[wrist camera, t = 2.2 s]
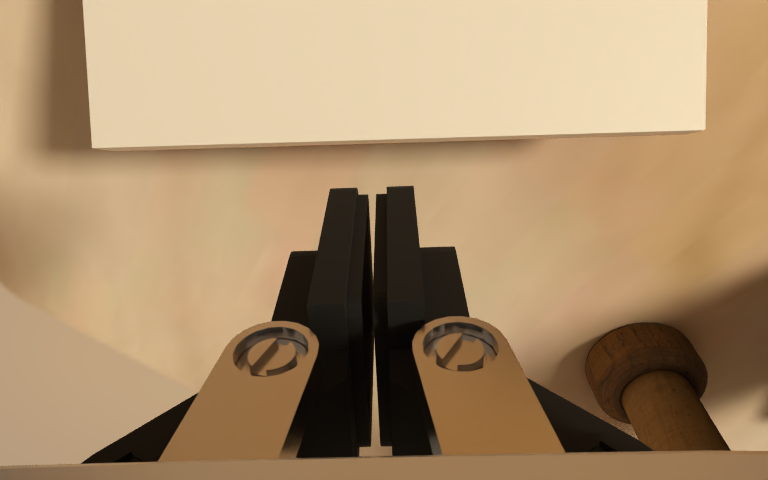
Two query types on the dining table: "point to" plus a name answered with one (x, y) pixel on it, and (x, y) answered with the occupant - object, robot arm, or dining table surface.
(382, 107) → the pale plank
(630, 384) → the mortar and pestle
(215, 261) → the dining table surface
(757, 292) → the dining table surface
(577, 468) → the robot arm
